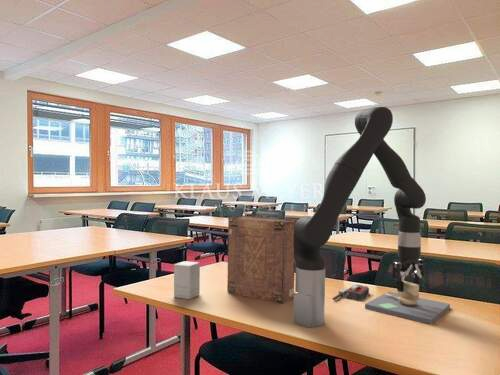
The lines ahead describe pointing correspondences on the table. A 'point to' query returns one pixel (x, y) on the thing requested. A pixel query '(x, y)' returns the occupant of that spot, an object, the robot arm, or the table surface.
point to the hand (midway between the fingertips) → (408, 289)
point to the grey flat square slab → (409, 308)
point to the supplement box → (186, 279)
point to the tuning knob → (408, 294)
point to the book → (261, 258)
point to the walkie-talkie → (353, 292)
